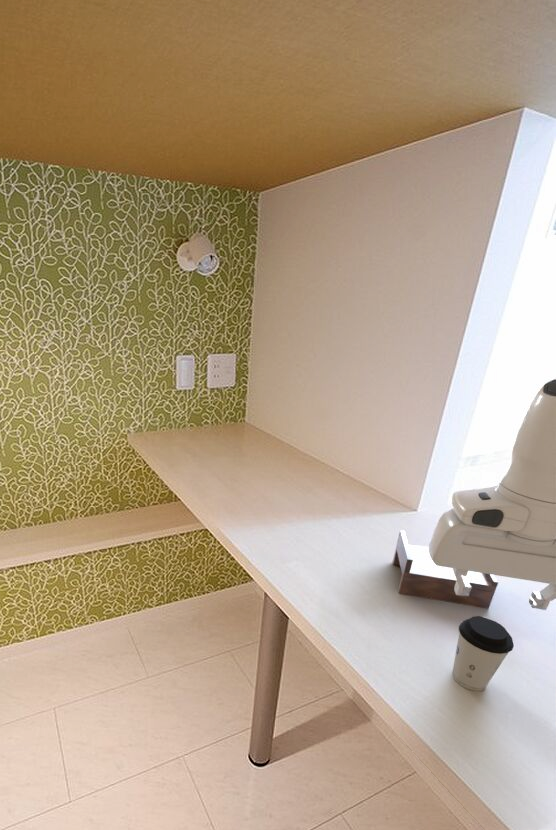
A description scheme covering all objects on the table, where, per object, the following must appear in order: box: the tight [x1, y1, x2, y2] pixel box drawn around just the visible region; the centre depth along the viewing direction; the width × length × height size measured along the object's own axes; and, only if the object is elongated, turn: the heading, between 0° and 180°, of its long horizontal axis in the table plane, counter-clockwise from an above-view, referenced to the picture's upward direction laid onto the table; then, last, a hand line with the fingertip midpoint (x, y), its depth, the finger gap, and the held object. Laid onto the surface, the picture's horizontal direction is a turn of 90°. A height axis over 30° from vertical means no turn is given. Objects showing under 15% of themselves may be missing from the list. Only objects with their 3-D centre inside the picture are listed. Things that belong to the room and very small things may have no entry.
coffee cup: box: [452, 615, 514, 692], centre depth 65 cm, size 7×7×10 cm
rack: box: [392, 530, 499, 609], centre depth 88 cm, size 16×12×8 cm
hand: (497, 599), depth 60 cm, fingers open, 8 cm apart
